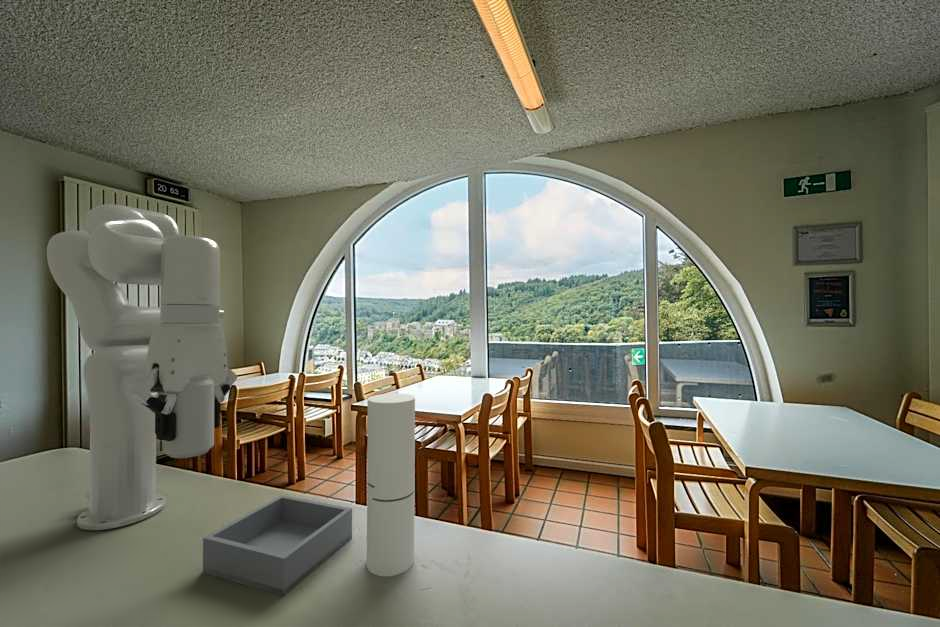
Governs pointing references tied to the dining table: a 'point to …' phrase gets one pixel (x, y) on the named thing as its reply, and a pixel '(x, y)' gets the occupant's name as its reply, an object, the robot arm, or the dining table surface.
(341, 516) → the box
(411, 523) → the cylindrical container
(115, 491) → the robot arm
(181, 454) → the beverage can
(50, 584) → the dining table surface
